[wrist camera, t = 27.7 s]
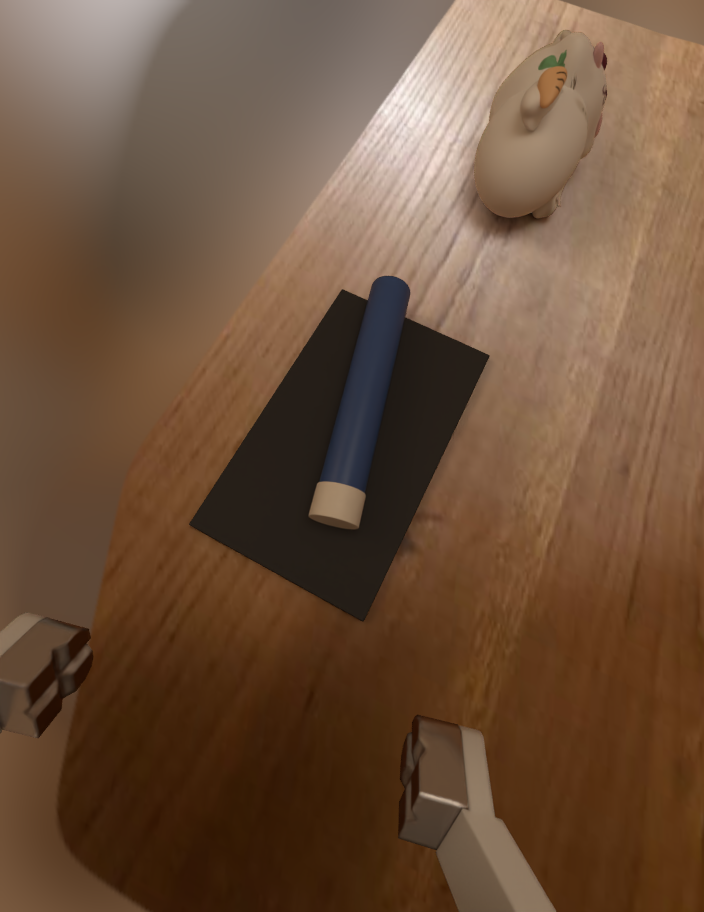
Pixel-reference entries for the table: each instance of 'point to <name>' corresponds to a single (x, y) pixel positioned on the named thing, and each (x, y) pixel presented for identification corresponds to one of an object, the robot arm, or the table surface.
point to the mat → (305, 448)
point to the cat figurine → (541, 127)
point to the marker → (361, 407)
